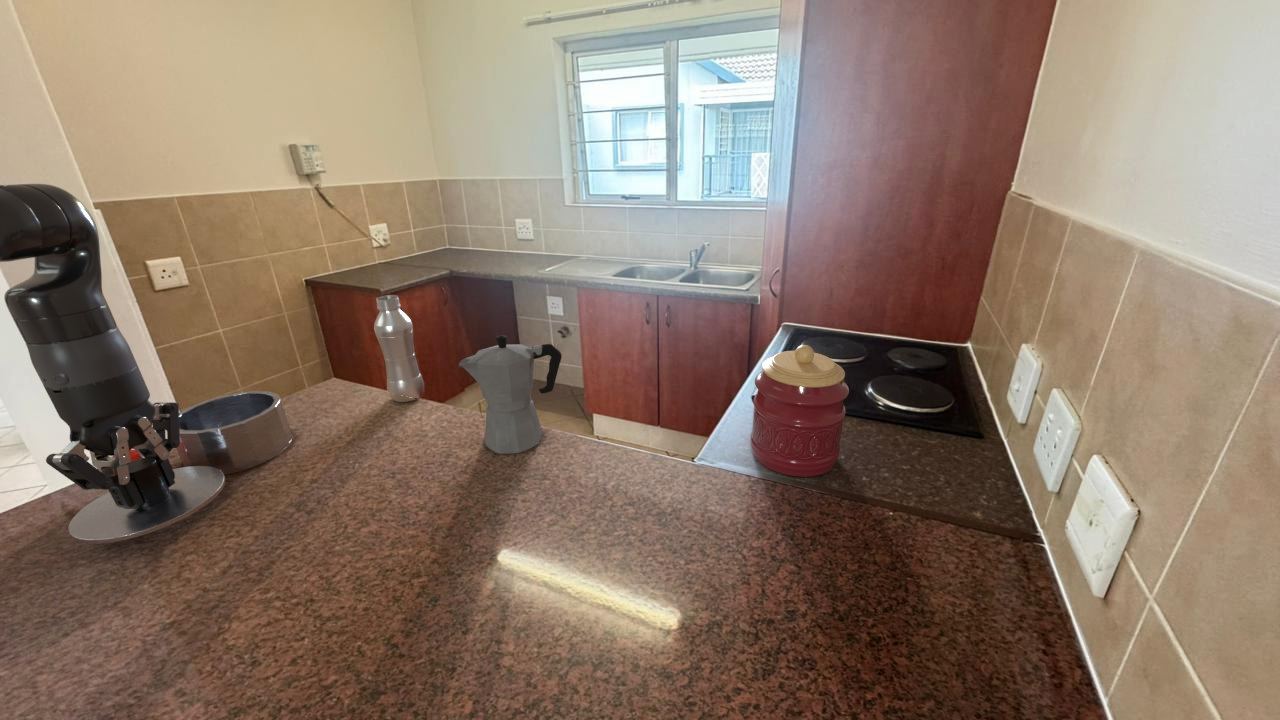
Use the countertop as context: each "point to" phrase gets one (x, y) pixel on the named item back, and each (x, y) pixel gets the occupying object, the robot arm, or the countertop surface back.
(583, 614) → the countertop surface
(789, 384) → the kitchen canister
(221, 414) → the saucepan
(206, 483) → the pan lid
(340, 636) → the countertop surface
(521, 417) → the coffeepot
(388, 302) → the plastic bottle
